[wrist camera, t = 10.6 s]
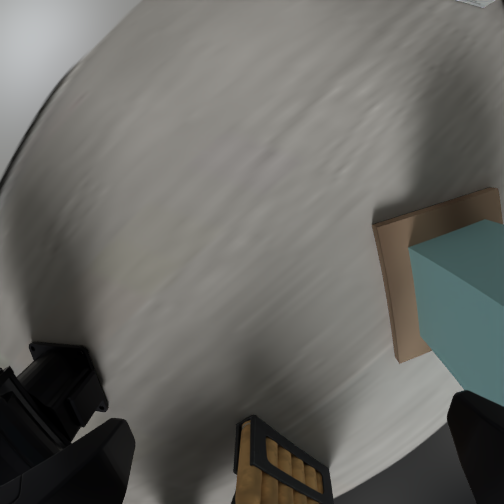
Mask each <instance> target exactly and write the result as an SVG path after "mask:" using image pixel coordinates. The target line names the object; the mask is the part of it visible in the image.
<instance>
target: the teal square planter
mask: <svg viewBox="0 0 504 504" xmlns="http://www.w3.org/2000/svg"><path fill="white" fill-rule="evenodd" d="M408 250H409V255H410V261H411V267H412V274H413V280H414V287H415V295H416V303H417V311H418V321H419V331H420V336H421V337H422V339H423V340H424V341H425V342H426V343H427V345H428V346H429V347H430V348H431V349H432V350H433V352H434V353H435V354H436V355H437V356H438V358H439V359H440V360H441V361H442V363H443V364H444V365H445V366H446V367H447V369H448V370H449V371H450V372H451V374H452V375H453V376H454V377H455V379H456V380H457V381H458V382H459V384H460V385H461V386H462V387H463V389H464V390H469V391H471V392H474V393H476V394H478V395H480V396H482V397H484V398H486V399H488V400H491V401H493V402H495V403H497V404H499V405H501V406H504V225H503V224H500V223H496V222H493V221H489V220H486V219H484V220H482V221H479V222H477V223H474V224H471V225H469V226H466V227H463V228H461V229H458V230H455V231H452V232H450V233H447V234H444V235H441V236H439V237H436V238H433V239H430V240H428V241H425V242H422V243H419V244H416V245H413V246H411V247H408Z"/></svg>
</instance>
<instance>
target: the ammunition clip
mask: <svg viewBox="0 0 504 504" xmlns="http://www.w3.org/2000/svg"><path fill="white" fill-rule="evenodd" d="M233 472H234V473H235V474H236V475H237V484H236V495H235V502H236V504H334V501H333V494H332V486H331V479H330V473H329V468H327V467H326V466H324V465H323V464H321V463H320V462H318V461H317V460H315V459H314V458H312V457H311V456H309V455H308V454H307V453H305V452H304V451H302V450H301V449H299V448H298V447H297V446H295V445H294V444H293V443H291V442H290V441H288V440H287V439H286V438H284V437H283V436H282V435H280V434H279V433H278V432H276V431H275V430H274V429H272V428H271V427H270V426H268V425H267V424H266V423H265V422H263V421H262V420H261V419H259V418H258V417H257V416H256V415H252V416H250V417H249V418H247V419H245V420H244V421H242V422H240V423H238V424H237V427H236V443H235V457H234V469H233Z"/></svg>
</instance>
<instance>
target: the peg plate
mask: <svg viewBox="0 0 504 504" xmlns="http://www.w3.org/2000/svg"><path fill="white" fill-rule="evenodd" d="M484 219H486V220H489V221H493V222H496V223H500V224H503V221H502V212H501V205H500V197H499V191H498V188H491V187H489V188H486V189H483V190H480V191H477V192H474V193H471V194H468V195H464V196H461V197H458V198H455V199H452V200H449V201H446V202H443V203H439V204H436V205H433V206H430V207H427V208H424V209H421V210H417V211H414V212H411V213H408V214H405V215H402V216H398V217H395V218H392V219H389V220H386V221H382V222H379V223H376V224H373V225H372V228H373V232H374V236H375V241H376V245H377V250H378V255H379V260H380V265H381V270H382V275H383V280H384V286H385V291H386V297H387V303H388V309H389V316H390V322H391V329H392V337H393V344H394V353H395V357H396V359H397V360H398V362H399V364H400V363H402V362H405V361H408V360H410V359H413V358H415V357H418V356H420V355H422V354H425V353H427V352H430V351H432V349H431V348H430V347H429V346H428V345H427V343H426V342H425V341H424V340H423V339H422V337H421V336H420V331H419V321H418V311H417V303H416V295H415V287H414V280H413V274H412V267H411V261H410V255H409V250H408V247H411V246H413V245H416V244H419V243H422V242H425V241H428V240H430V239H433V238H436V237H439V236H441V235H444V234H447V233H450V232H452V231H455V230H458V229H461V228H463V227H466V226H469V225H471V224H474V223H477V222H479V221H482V220H484Z"/></svg>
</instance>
